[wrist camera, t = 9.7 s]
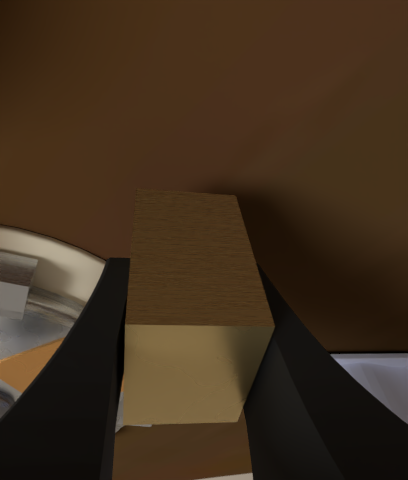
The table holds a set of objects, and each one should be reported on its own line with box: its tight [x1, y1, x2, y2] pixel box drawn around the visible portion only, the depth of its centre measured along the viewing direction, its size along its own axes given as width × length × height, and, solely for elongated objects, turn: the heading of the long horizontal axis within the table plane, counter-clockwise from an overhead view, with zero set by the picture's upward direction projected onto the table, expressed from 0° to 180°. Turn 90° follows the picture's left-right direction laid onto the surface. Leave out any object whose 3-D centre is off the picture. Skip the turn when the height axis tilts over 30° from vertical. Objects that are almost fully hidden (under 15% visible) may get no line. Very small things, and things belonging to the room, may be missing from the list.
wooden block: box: [123, 188, 275, 425], centre depth 11 cm, size 4×3×5 cm
